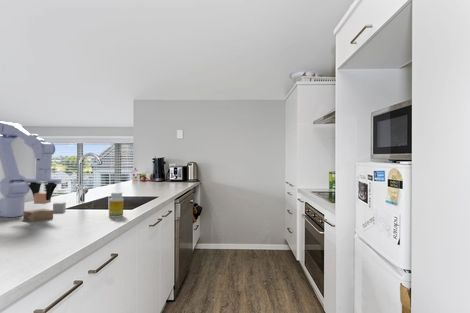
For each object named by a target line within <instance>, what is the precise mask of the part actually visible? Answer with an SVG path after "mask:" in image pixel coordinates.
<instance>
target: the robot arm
mask: <svg viewBox="0 0 470 313" xmlns="http://www.w3.org/2000/svg"><path fill="white" fill-rule="evenodd" d="M18 138H20V139H21V140H23V142H24V144H25V145H26V146H28V147H29V148H31V149H32V152H33V153H34V158H35V178H26V177H25V176H24V175H22V174H20V172H19V168H18V164H17V161H16V157H15V154H14V150H13V148H12V143H14V142H15V141H16V140H17V139H18ZM55 152H56V146H55V144H54V143H53V142H47V141H46V140H45V139H43V138H41V137H40V136H39V134H36V133H29V132H28V131H27V130H26V129H25V128H23V125H22V124H20V123H17V122H15V123H14V122H9V121H8V122H7V121H0V163H1V166H2V170H3V175H4V177H3V178H2V179H1V180H0V193H1V195H2V197H0V217H6V218H18V217H21V216H23V211H25V199H26V196H27V194H29V193H30V191H31V193H32V197H34V193H39V192H41V191H40V190H41V189H40V188H41V187H42V186H41V185H42V184H45V185H44V187H45V191H46V200H52V195H53V193H54V191H55V189H56V188H57V186H58V185H61V184H62V179H60V178H59V179H58V178H52V162H53V161H52V160H53V159H52V158H53V155H54V154H55Z"/></svg>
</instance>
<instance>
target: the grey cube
mask: <svg viewBox="0 0 470 313" xmlns="http://www.w3.org/2000/svg"><path fill="white" fill-rule="evenodd" d="M66 203H67V202H66V201H64V202H63V201H59V202H58V201H56V202H54V203H53V204H52V210H53V214H55V213H65V212H66Z"/></svg>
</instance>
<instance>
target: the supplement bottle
mask: <svg viewBox="0 0 470 313" xmlns="http://www.w3.org/2000/svg"><path fill="white" fill-rule="evenodd" d="M110 195H111V196H110V198H109V200H108V217H109V218H114V219H115V218H122V217H124V201H125V200H124V197H123V192H121V191H115V192H113V191H112V192H111V193H110Z"/></svg>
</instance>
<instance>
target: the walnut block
mask: <svg viewBox="0 0 470 313" xmlns="http://www.w3.org/2000/svg"><path fill="white" fill-rule="evenodd" d="M22 216H23V217H22V220H23V221H28V222H33V223H35V222H39V221H40V222H41V221H42V222H43V221H47V220H52V219H54V213H53V209H48V208H36V209H29V210H24V211H23V215H22Z"/></svg>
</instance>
